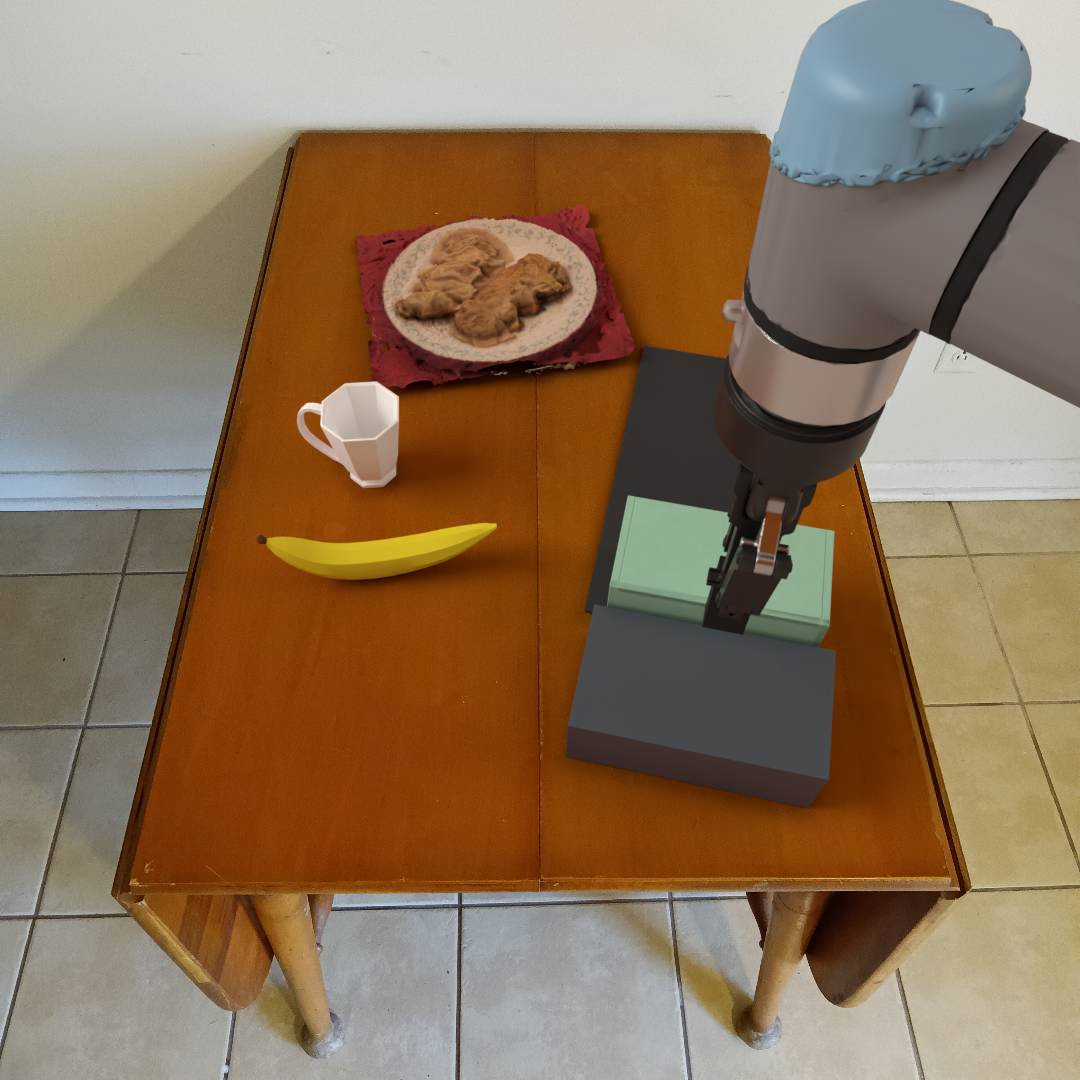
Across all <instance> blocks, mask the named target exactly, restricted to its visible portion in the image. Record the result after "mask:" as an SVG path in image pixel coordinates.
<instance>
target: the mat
mask: <svg viewBox="0 0 1080 1080" xmlns="http://www.w3.org/2000/svg"><path fill="white" fill-rule="evenodd" d="M726 358H727V357H719V356H712V355H707V354H706V355H705V354H700V353H694V352H688V351H683V350H682V351H681V350H675V349H670V348H669V349H668V348H664V347H663V348H662V347H657V346H649V345H643V347H642V352H641V357H640V361H639V366H638V370H637V375H636V379H635V384H634V389H633V392H632V398H631V402H630V407H629V411H628V414H627V420H626V423H625V427H624V432H623V433H624V434H623V437H622V438H623V439H622V442H621V447H620V450H619V455H618V460H617V465H616V468H615V473H614V477H613V483H612V487H611V490H610V495H609V500H608V504H607V509H606V513H605V519H604V522H603V526H602V531H601V536H600V539H599V544H598V549H597V554H596V556H595V557H596V558H595V562H594V566H593V572H592V576H591V580H590V585H589V589H588V594H587V597H586V602H585V607H584V613H587V614H592V613H593V608H594V605H595V604H596V605H601V606H606V607H607V603H608V595H609V587H610V582H611V577H612V572H613V567H614V562H615V557H616V552H617V547H618V542H619V537H620V532H621V527H622V522H623V518H624V513H625V508H626V503H627V498H628V495H629V496H635V497H640V498H646V499H652V500H658V501H663V502H669V503H675V504H681V505H687V506H692V507H698V508H704V509H710V510H716V511H721V512H727V513H728V509H729V508H730V507H731V505H732V501H733V497H734V485H735V477H736V471H737V466H738V462H739V461H738V460H736V459H735V458H734V457H733V456H732V455H731V454H730V453H729V451H728V450H727V449H726V447H725V446H724V445H723V443H722V441H721V439H720V437H719V435H718V433H717V430H716V426H715V421H714V408H715V403H716V398H717V394H718V390H719V385H720V381H721V377H722V372H723V368H724V364H725V360H726Z"/></svg>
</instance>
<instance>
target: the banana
mask: <svg viewBox="0 0 1080 1080" xmlns="http://www.w3.org/2000/svg"><path fill="white" fill-rule="evenodd" d="M498 527H499V524H498V523H495V522H494V523H490V522H480V523H479V522H478V523H472V524H465V525H457V526H452V527H451V526H450V527H445V528H441V529H435V530H431V531H427V532H422V533H415V534H410V535H404V536H397V537H392V538H391V537H390V538H385V539H376V540H369V541H357V542H356V541H355V542H323V541H319V540H311V539H307V538H300V537H294V536H274V537H265V536H264V535H263V534H259V535H257V537H256V541H257V544H258V545H265V546H266V547H267V549H269V550H270V551H271V552H272V553H273V554H274V555H275V556H276V557H278V558H279V559H280V560H282V561H283V562H285V563H287V564H288V565H290V566H292V567H294V568H296V569H298V570H300V571H303V572H305V573H308V574H310V575H314V576H318V577H321V578H327V579H335V580H346V581H347V580H349V581H350V580H351V581H356V580H373V579H380V578H386V577H387V578H388V577H394V576H397V575H402V574H407V573H408V574H409V573H411V572H415V571H419V570H422V569H426V568H430V567H432V566H435V565H438V564H441V563H445V562H447V561H448V560H451V559H453V558H455V557H457V556H460V555H461V554H463V553H464V552H466V551H467V550H470V548H472V547H474V546H475V545H477V544H479V543H480V542H481V541H482V540H484V539H485V538H487V537H488V536H489V535H490V534H492V533H493V532H494V531H495V530H497V529H498Z"/></svg>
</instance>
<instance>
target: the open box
mask: <svg viewBox="0 0 1080 1080" xmlns="http://www.w3.org/2000/svg"><path fill="white" fill-rule="evenodd" d="M728 521H729V517H728V516H727V512H721V511H716V510H710V509H704V508H698V507H692V506H687V505H681V504H675V503H669V502H663V501H658V500H652V499H646V498H640V497H635V496H629V495H628V498H627V503H626V508H625V513H624V518H623V522H622V527H621V532H620V537H619V542H618V547H617V552H616V557H615V562H614V567H613V572H612V577H611V582H610V587H609V595H608V603H607V607H611V608H616V609H622V610H627V611H632V612H637V613H642V614H648V615H653V616H658V617H663V618H668V619H674V620H679V621H684V622H689V623H694V624H700V625H702V623H703V617H704V610H705V606H706V602H707V599H708V595H709V592H710V589H711V586H708V585H706V582H707V576H708V571H709V567H711V568H717V565H718V562H719V558H720V555H721V556H726V554H727V552H724V548H723V546H722V544H723V539H724V538H725V535H727V532H728V528H729V525H730V522H728ZM835 534H836V533H835V530H831V529H826V528H825V529H824V528H819V527H813V526H807V525H802V524H797V526H796V528H795V531H794V532H793V533H792V534H788V535H784V536H782V538H781V541H780V544H785V545H789V546H790V551H789V555H791V560H792V563H793V568H792V572H791V573H789V575H788V578H787V579H781V580H780V582H779V584H778V585H777V587H776V589H775V590H774V592H773V594H772V595H771V597H770V599H769V600H768V602H767V604H766V605H765V607H764V609H763V610H762V612H761V614H760V615H759V616H757V615H750V618H749V620H748V623H747V625H746V628H745V631H744V633H746V634H752V635H757V636H762V637H767V638H772V639H777V640H783V641H788V642H793V643H798V644H803V645H809V646H814V647H819V648H820V646H821V644H822V641H823V640H824V637H825V636H826V634H827V632H828V631H829V629H830V627H831V606H832V590H833V589H832V588H833V570H834V569H833V567H834V550H835Z"/></svg>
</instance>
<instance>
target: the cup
mask: <svg viewBox="0 0 1080 1080" xmlns="http://www.w3.org/2000/svg"><path fill="white" fill-rule="evenodd" d="M306 413H313V414H316V415H319V416H320V422H319V423H320V425H319V426H320V428H321V429H322V431H323V434H324V435H325V437H326V439H327V440H328V442H329V444H330V446H329V445H328V444H326V443H325V442H324V441H322V440H321V439H319V438H318V437H317V436H316V435H315V434H313V433H312V432H311V431H310V430H309V428H308V427H307V425H306V422H305V421H306V420H305V414H306ZM296 416H297V417H296V425H297V429H298V431H299V433H300V434H301V436H302V437H303V439H304V440H305V441H306V442H308V443H309V444H310V445H311V447H313V448H315V449H316V450H318V451H319V452H321V453H322V454H323V455H325V456H327V457H329V458H330V459H332V460H333V461H335V462H337V463H339V464H341V465H343V466H344V468H345V469H346V471H347V472H349V473H350V474H349V476H350V479H351V480H352V481H353V482H355V483H356V484H357V485H359V486H360V487H362V488H363V489H374V488H383V487H385V486H386V485H388V483H389V482H391V480H393V479H394V478H395V477H396V476H397V462H398V458H399V457H398V456H399V435H400V434H399V431H400V430H399V429H400V395H397V394H396V393H394V392H393V391H392V390H390V389H388V387H384V386H382V385H381V384H380V383H378V382H377V381H376V382H372V381H362V382H361V381H359V382H345V383H344V384H342V385H341V386H339V387H338V388H336V390H334V391H333V392H332V393H330V394H329V395H328V396H327V397H325V398H324V399H323V400H321V403H317V402H306V403H304V405H302V406H301V408H300V409H299V411H298V412H297V415H296Z"/></svg>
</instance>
